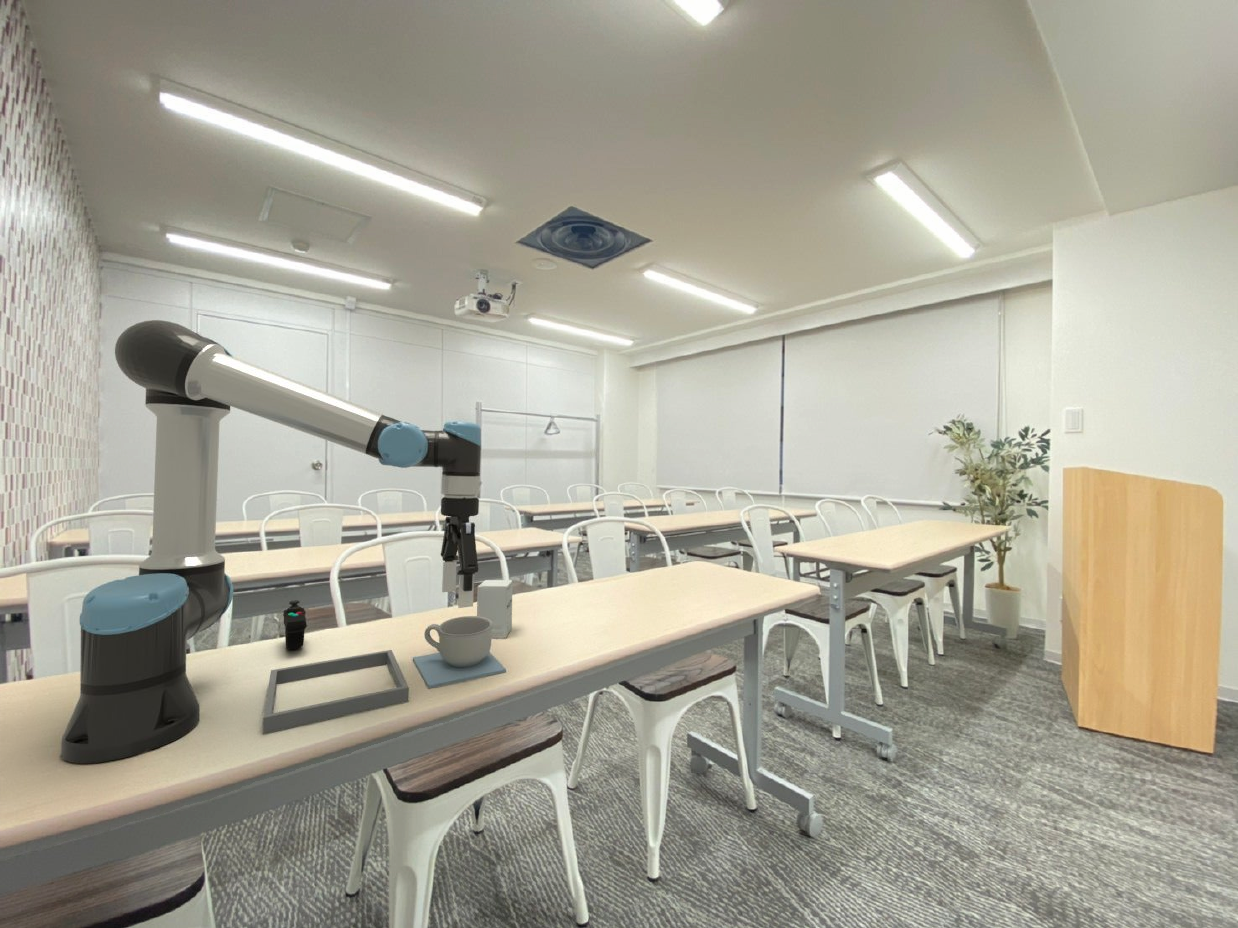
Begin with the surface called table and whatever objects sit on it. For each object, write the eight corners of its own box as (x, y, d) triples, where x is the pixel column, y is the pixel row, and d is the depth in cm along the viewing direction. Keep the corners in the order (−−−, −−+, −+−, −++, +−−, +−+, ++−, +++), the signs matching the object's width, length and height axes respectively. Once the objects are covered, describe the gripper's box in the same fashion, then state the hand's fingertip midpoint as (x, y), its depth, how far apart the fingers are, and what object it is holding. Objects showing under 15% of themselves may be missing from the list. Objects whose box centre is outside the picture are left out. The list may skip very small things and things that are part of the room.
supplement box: (506, 638, 121) (507, 586, 121) (475, 638, 121) (476, 586, 121) (512, 628, 128) (513, 579, 129) (483, 628, 128) (484, 579, 128)
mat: (428, 688, 94) (428, 685, 94) (412, 660, 107) (412, 657, 107) (506, 672, 101) (506, 669, 101) (482, 647, 115) (482, 644, 115)
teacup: (500, 654, 109) (501, 617, 109) (475, 674, 99) (476, 634, 99) (443, 648, 112) (443, 613, 112) (413, 667, 102) (413, 628, 102)
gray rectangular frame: (262, 734, 77) (263, 717, 77) (270, 683, 95) (270, 670, 95) (408, 701, 88) (408, 687, 88) (391, 661, 106) (391, 649, 106)
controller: (304, 639, 119) (304, 597, 119) (307, 655, 109) (308, 609, 109) (282, 643, 116) (282, 600, 116) (284, 660, 106) (284, 613, 106)
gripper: (497, 500, 96) (493, 611, 96) (462, 493, 117) (459, 584, 117) (457, 500, 92) (453, 616, 92) (429, 493, 113) (425, 587, 113)
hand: (456, 598), depth 104 cm, fingers open, 13 cm apart
